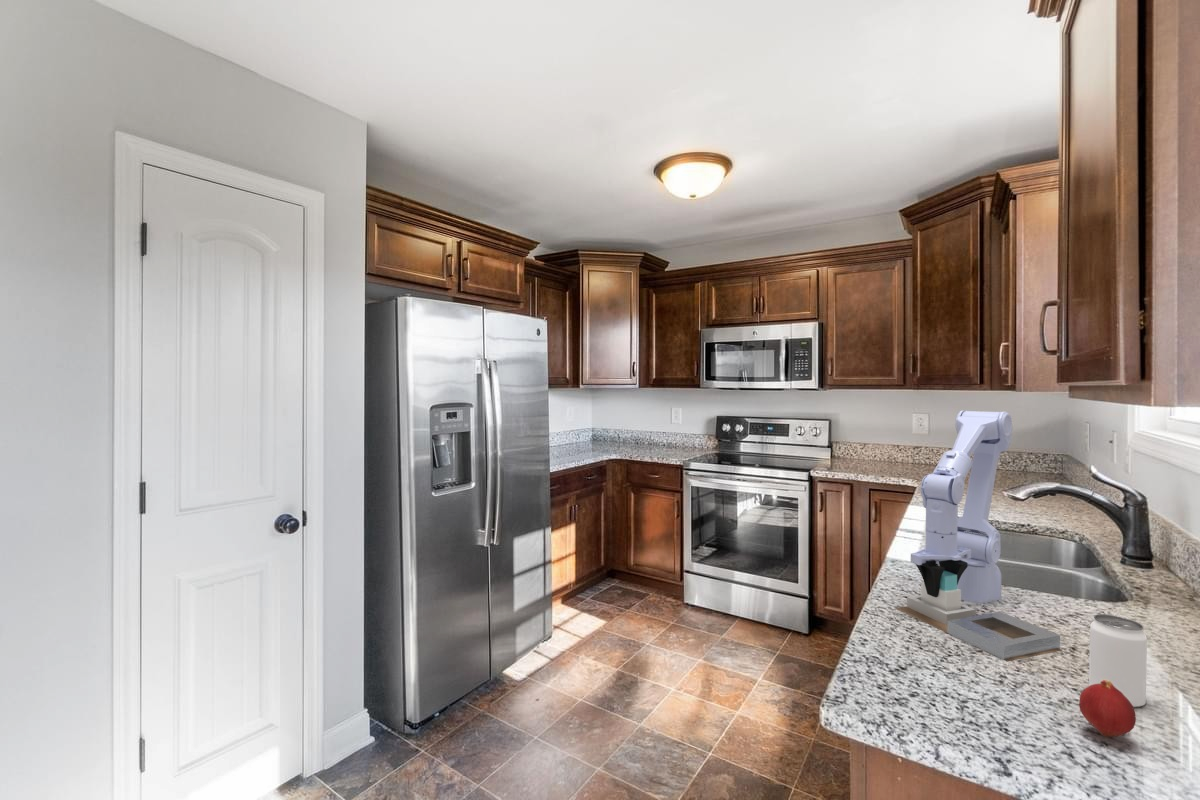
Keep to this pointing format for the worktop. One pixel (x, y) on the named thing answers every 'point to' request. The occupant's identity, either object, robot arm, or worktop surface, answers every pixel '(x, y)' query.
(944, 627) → the panel board
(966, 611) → the grey rectangular frame
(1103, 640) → the can
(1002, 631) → the port
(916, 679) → the worktop surface
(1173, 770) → the worktop surface
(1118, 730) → the onion
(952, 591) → the plug
